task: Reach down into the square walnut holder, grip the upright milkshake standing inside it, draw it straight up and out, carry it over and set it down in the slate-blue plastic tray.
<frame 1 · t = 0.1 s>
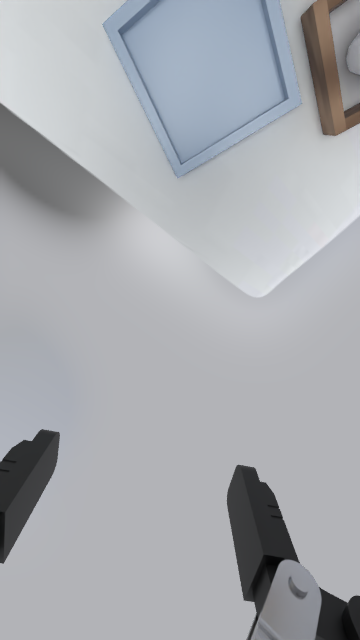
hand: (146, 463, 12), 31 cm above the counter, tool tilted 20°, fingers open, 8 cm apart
tray: (206, 69, 27), on the counter
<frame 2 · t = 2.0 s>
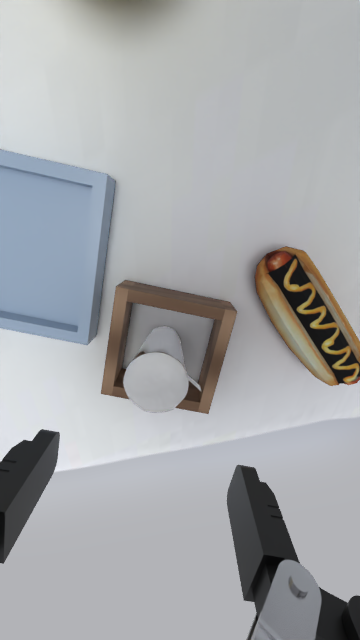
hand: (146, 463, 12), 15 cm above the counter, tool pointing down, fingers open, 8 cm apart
milkshake: (167, 339, 26), on the counter
hot dog: (293, 311, 26), on the counter
holder: (167, 340, 26), on the counter
tray: (27, 248, 24), on the counter
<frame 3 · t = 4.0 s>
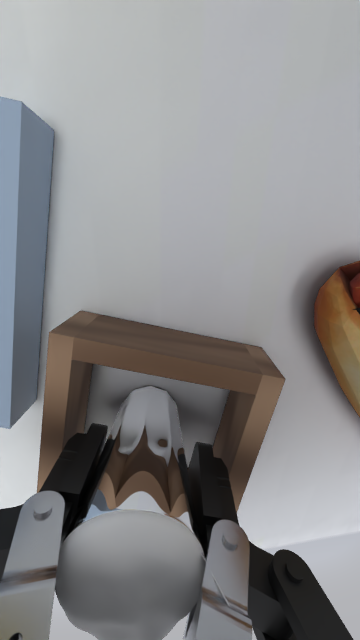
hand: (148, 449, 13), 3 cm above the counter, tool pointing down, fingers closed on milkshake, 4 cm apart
milkshake: (156, 406, 16), on the counter, touching gripper
holder: (155, 407, 16), on the counter
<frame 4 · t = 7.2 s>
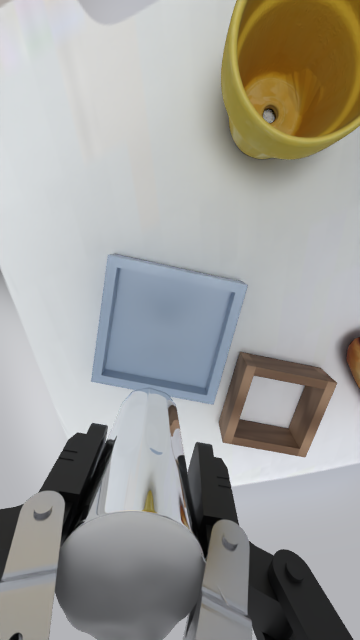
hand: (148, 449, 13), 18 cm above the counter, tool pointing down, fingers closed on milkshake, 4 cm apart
milkshake: (155, 406, 16), point 15 cm above the counter, touching gripper
holder: (267, 396, 33), on the counter
tray: (166, 328, 30), on the counter
plant pot: (265, 119, 25), on the counter
when the fingers open (6 cm above the counter, at t = 10.2 s): milkshake drops 1 cm, resting on tray.
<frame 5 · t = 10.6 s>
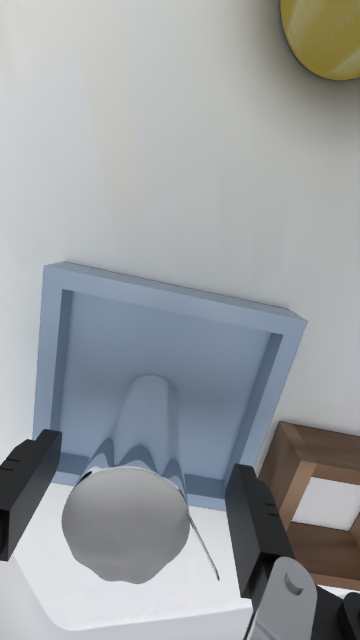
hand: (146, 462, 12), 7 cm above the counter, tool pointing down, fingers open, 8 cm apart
milkshake: (157, 393, 17), point 1 cm above the counter, touching tray
holder: (320, 486, 21), on the counter
tray: (158, 385, 18), on the counter
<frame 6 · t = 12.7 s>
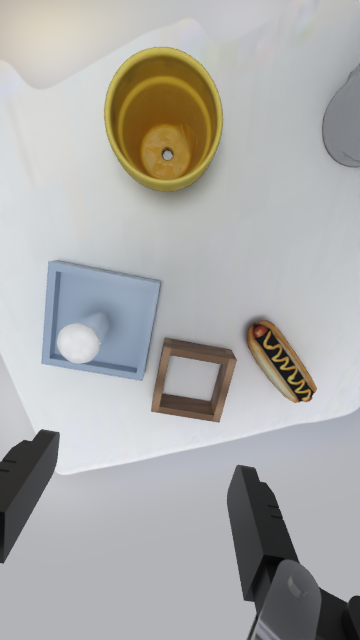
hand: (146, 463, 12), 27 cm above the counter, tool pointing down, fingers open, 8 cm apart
milkshake: (101, 322, 37), point 1 cm above the counter, touching tray
hot dog: (271, 354, 40), on the counter
holder: (191, 374, 40), on the counter
tray: (103, 320, 37), on the counter
plant pot: (166, 156, 32), on the counter
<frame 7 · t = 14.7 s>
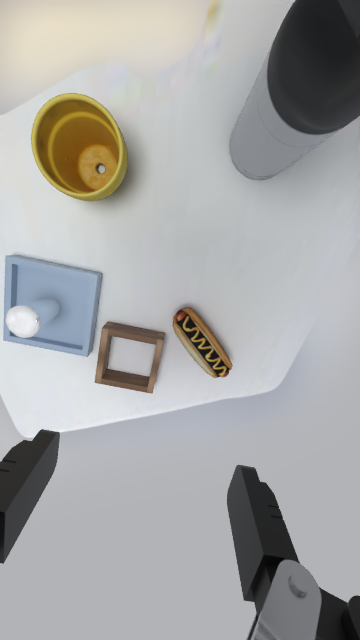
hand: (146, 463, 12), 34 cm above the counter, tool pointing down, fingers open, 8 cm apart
milkshake: (53, 306, 44), point 1 cm above the counter, touching tray
hot dog: (200, 337, 47), on the counter
holder: (131, 353, 47), on the counter
tray: (55, 305, 45), on the counter
plant pot: (102, 170, 39), on the counter
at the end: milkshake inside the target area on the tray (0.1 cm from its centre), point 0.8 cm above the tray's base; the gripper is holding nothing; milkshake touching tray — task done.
